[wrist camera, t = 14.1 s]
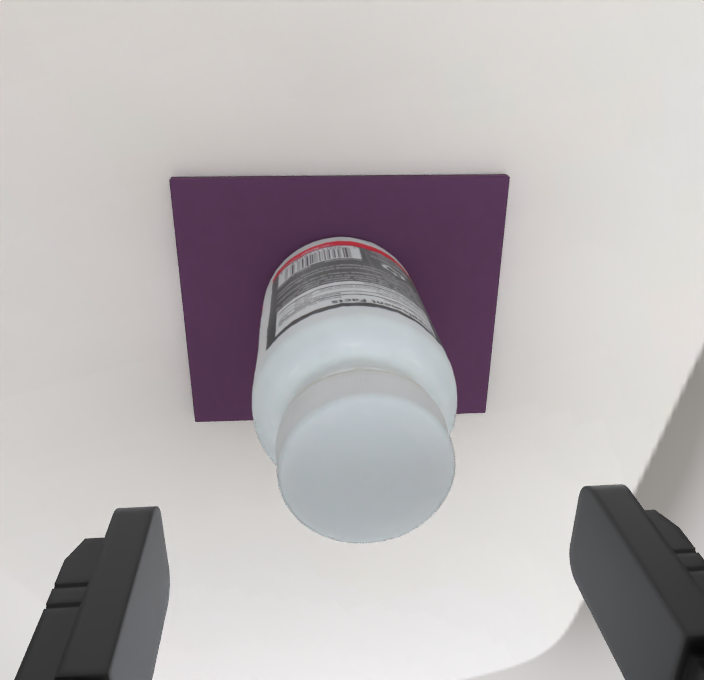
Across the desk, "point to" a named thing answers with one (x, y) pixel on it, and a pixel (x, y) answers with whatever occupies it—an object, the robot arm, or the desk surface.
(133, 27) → the desk surface
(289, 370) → the pill bottle
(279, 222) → the mat
